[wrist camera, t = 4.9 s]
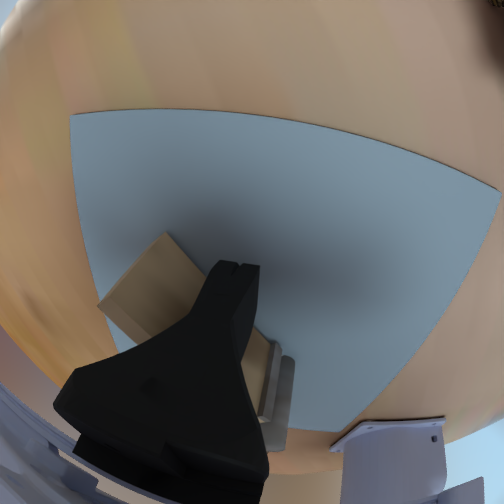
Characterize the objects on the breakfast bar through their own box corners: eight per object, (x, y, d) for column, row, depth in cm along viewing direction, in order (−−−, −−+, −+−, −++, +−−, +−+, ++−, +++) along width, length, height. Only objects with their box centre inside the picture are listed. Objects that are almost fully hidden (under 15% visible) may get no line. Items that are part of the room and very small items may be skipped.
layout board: (498, 190, 7) (503, 193, 7) (339, 429, 18) (339, 432, 18) (74, 114, 9) (68, 116, 8) (135, 384, 20) (133, 387, 20)
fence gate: (282, 349, 13) (271, 421, 9) (256, 357, 13) (241, 424, 10) (170, 227, 10) (113, 292, 7) (147, 246, 11) (93, 308, 8)
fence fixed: (298, 357, 13) (287, 445, 9) (269, 418, 18) (258, 475, 14) (271, 352, 13) (255, 440, 9) (252, 414, 18) (238, 471, 14)
